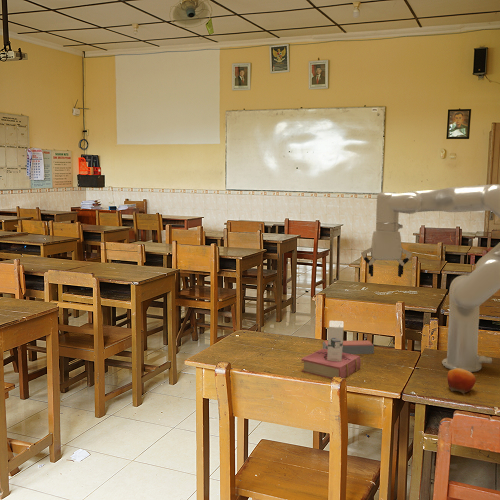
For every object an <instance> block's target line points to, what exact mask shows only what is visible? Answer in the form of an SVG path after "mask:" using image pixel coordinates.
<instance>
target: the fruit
mask: <svg viewBox="0 0 500 500" xmlns="http://www.w3.org/2000/svg"><path fill="white" fill-rule="evenodd" d="M446 380H447V385H448V388H449V390H450V391H451V392H460V393H462V394H463V396H465V393H469V392H470V391H471V390H472V388H473V387H474V386H475V385H476V384H475V383H476V381H477V379H476V376H475V374H473V372H469V371H467V370H464V369H460V368H456V369H453V370H451V369H449V371H447V379H446Z"/></svg>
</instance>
